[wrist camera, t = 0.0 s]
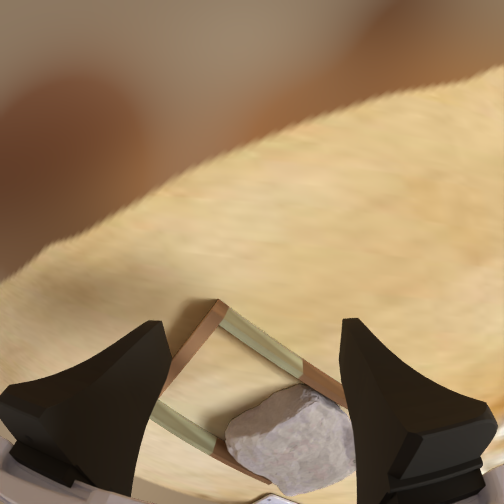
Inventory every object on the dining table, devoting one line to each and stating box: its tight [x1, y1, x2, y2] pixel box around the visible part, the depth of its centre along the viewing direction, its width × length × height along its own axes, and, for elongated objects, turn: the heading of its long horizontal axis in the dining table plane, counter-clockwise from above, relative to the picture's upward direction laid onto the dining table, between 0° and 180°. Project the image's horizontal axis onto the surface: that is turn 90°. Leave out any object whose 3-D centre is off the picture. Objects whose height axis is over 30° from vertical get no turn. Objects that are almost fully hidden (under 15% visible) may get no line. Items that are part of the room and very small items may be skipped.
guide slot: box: [150, 299, 348, 485], centre depth 24 cm, size 13×15×2 cm
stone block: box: [225, 384, 356, 496], centre depth 24 cm, size 12×5×10 cm
